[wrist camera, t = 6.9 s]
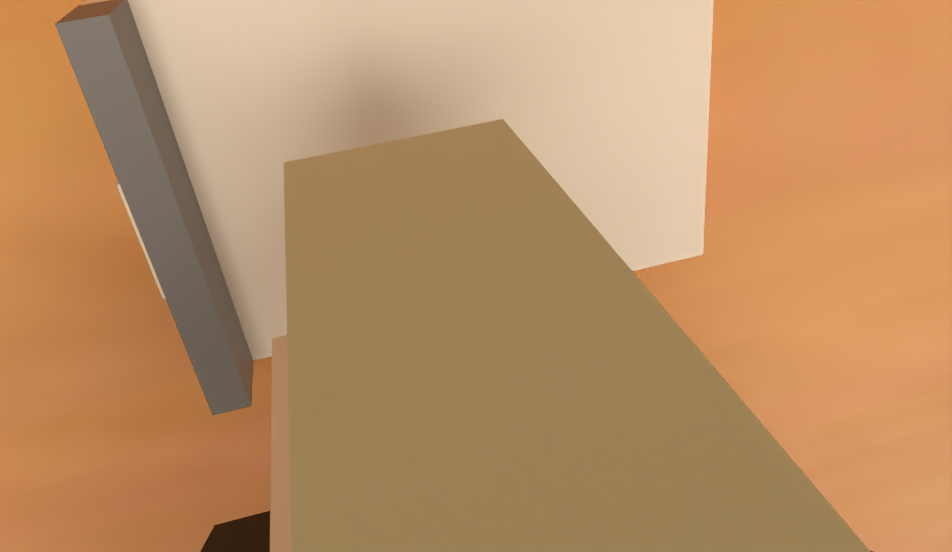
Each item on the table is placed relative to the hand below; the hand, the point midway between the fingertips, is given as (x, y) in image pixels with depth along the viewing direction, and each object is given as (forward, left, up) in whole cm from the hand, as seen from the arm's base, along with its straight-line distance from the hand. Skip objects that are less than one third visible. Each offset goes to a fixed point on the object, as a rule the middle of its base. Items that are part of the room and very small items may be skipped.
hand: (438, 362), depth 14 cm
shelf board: (+2, 0, -12) cm, 12 cm away
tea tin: (0, 0, -1) cm, 1 cm away
